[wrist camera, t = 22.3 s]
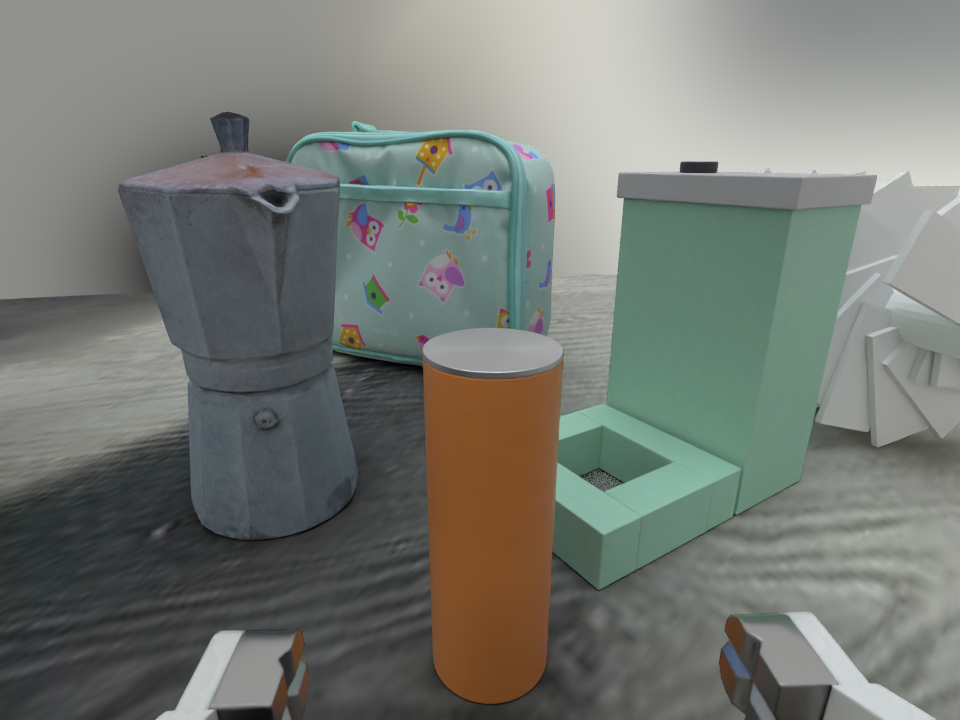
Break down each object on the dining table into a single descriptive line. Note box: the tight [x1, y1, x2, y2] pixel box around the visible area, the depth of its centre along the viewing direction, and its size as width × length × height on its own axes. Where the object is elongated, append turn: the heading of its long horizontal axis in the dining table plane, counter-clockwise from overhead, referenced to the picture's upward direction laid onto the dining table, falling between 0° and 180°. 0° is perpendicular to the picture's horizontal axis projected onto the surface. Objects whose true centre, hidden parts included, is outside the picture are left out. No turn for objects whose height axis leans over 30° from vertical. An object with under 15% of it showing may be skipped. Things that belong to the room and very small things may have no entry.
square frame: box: [553, 403, 741, 590], centre depth 31 cm, size 10×10×3 cm
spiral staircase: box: [760, 168, 960, 448], centre depth 43 cm, size 18×18×25 cm
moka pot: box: [118, 112, 359, 540], centre depth 29 cm, size 10×15×20 cm, turn 39°
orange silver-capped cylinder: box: [422, 328, 563, 704], centre depth 20 cm, size 4×4×12 cm
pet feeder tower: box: [606, 162, 877, 515], centre depth 33 cm, size 7×11×18 cm, turn 33°
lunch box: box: [286, 122, 555, 366], centre depth 52 cm, size 27×10×21 cm, turn 62°
